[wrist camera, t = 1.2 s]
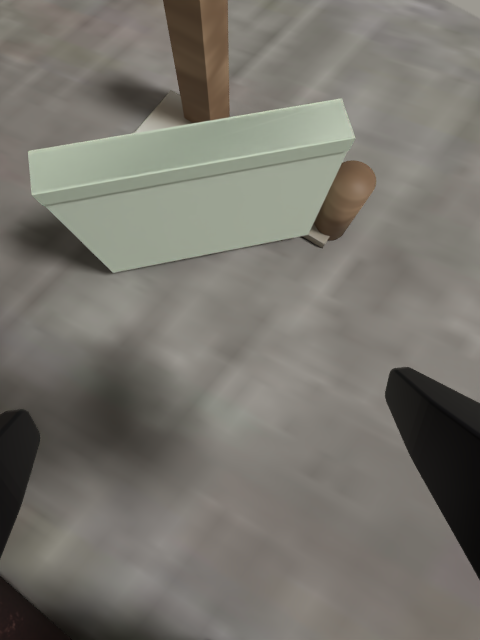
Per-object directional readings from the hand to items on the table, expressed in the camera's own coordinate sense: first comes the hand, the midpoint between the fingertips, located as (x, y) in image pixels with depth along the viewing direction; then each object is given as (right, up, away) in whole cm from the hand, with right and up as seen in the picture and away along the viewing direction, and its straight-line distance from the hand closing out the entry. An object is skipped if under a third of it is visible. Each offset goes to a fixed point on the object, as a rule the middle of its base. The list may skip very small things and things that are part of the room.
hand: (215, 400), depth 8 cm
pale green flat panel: (-1, +7, +13) cm, 15 cm away
